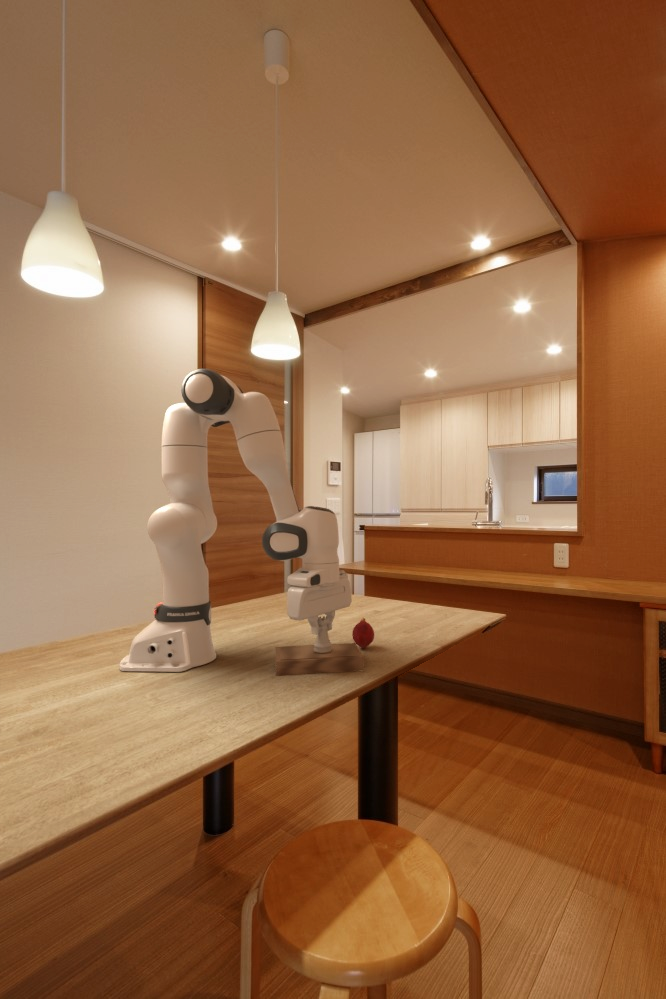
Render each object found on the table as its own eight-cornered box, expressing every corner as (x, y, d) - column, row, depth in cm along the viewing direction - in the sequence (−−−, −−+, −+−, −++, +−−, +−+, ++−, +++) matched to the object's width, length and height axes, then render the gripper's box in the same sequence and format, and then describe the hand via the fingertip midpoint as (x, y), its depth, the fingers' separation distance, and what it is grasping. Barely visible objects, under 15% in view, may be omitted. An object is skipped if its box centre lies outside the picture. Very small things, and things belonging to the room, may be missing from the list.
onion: (375, 651, 127) (374, 620, 127) (352, 652, 127) (352, 620, 127) (373, 645, 133) (373, 615, 133) (352, 645, 133) (351, 615, 133)
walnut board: (275, 675, 111) (275, 661, 111) (275, 658, 123) (275, 646, 123) (363, 670, 113) (363, 656, 113) (355, 654, 125) (355, 642, 125)
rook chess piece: (326, 654, 115) (326, 620, 115) (310, 652, 117) (309, 618, 117) (335, 649, 119) (334, 616, 119) (319, 647, 121) (318, 614, 121)
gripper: (337, 568, 128) (338, 621, 128) (281, 578, 112) (282, 639, 112) (356, 569, 124) (358, 625, 124) (302, 580, 108) (303, 643, 108)
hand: (321, 632), depth 118 cm, fingers closed on rook chess piece, 3 cm apart
